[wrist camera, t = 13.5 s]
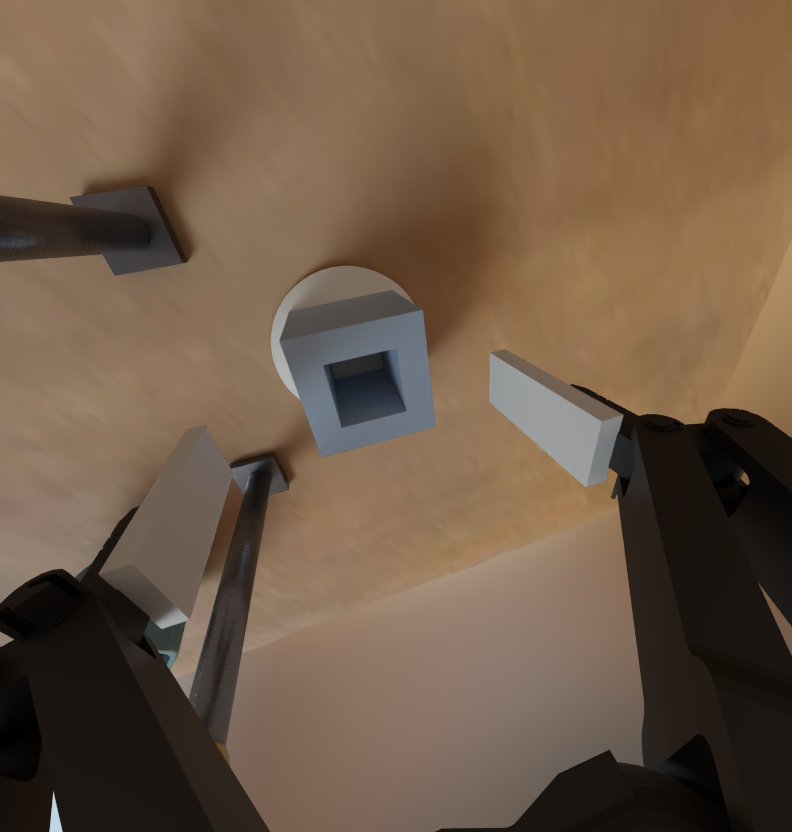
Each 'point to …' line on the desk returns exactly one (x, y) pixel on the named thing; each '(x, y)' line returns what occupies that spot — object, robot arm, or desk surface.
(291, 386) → the white round disc
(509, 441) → the desk surface
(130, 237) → the gold-tipped post pair
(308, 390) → the hollow square tube
